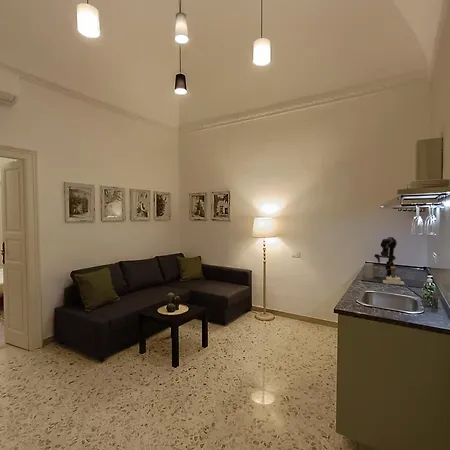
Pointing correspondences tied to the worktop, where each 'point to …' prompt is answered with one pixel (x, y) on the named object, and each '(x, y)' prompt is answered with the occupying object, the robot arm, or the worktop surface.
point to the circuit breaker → (370, 270)
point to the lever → (392, 271)
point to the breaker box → (393, 280)
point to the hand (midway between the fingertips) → (384, 264)
